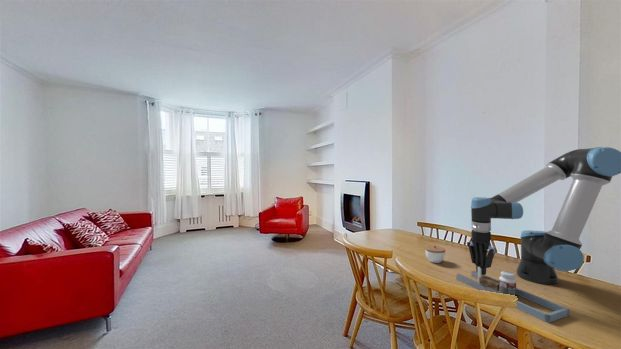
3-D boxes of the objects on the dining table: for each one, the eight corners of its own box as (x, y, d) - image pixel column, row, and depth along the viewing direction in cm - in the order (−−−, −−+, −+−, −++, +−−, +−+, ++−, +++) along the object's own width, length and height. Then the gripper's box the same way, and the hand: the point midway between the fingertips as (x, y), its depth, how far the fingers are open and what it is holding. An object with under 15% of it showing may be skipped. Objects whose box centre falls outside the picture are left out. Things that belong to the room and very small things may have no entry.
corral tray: (498, 299, 104) (498, 293, 104) (517, 294, 107) (517, 288, 107) (548, 322, 88) (548, 315, 87) (569, 315, 91) (569, 309, 91)
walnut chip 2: (487, 289, 112) (487, 280, 112) (494, 288, 113) (494, 279, 113) (497, 293, 108) (497, 284, 108) (503, 292, 109) (503, 283, 109)
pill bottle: (511, 300, 102) (511, 277, 102) (496, 294, 107) (496, 271, 107) (519, 297, 105) (519, 274, 104) (504, 291, 110) (504, 269, 110)
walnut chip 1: (479, 285, 116) (479, 277, 115) (485, 284, 117) (485, 275, 117) (487, 289, 112) (487, 280, 112) (494, 288, 113) (494, 279, 113)
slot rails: (456, 279, 123) (456, 274, 123) (474, 275, 126) (474, 270, 126) (498, 299, 104) (498, 293, 104) (517, 293, 108) (517, 288, 107)
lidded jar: (448, 265, 141) (447, 248, 140) (427, 264, 143) (427, 247, 142) (442, 258, 151) (441, 243, 151) (423, 257, 153) (423, 242, 153)
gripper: (462, 228, 121) (462, 276, 122) (489, 234, 109) (489, 288, 110) (473, 226, 124) (474, 273, 124) (501, 233, 111) (501, 285, 112)
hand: (481, 280), depth 117 cm, fingers closed
